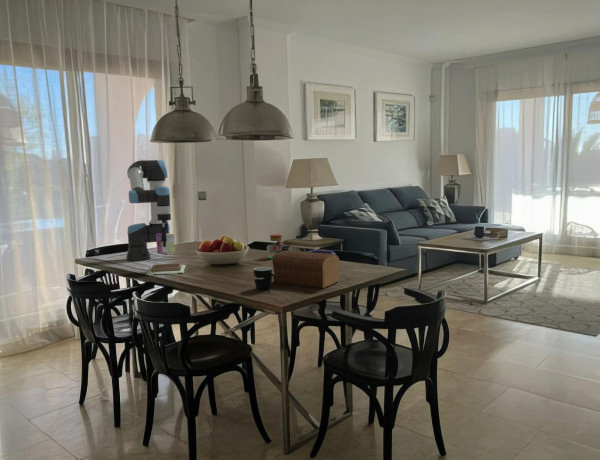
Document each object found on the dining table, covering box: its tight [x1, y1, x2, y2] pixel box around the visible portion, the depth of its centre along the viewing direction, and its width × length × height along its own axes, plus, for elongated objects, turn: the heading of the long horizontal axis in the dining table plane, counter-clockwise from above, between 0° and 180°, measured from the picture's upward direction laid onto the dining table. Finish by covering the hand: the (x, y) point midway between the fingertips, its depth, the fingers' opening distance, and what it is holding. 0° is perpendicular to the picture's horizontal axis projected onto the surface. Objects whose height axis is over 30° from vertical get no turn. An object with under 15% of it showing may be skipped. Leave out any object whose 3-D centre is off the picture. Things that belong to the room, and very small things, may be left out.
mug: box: [253, 266, 277, 291], centre depth 254 cm, size 12×9×10 cm
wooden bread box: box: [272, 249, 340, 289], centre depth 267 cm, size 18×30×16 cm, turn 58°
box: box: [156, 233, 176, 256], centre depth 301 cm, size 10×6×12 cm, turn 47°
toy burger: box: [266, 233, 285, 260], centre depth 339 cm, size 12×13×15 cm
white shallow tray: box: [146, 262, 186, 276], centre depth 303 cm, size 22×20×3 cm
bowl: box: [307, 249, 337, 255], centre depth 301 cm, size 18×18×10 cm
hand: (165, 250), depth 302 cm, fingers closed on box, 11 cm apart
